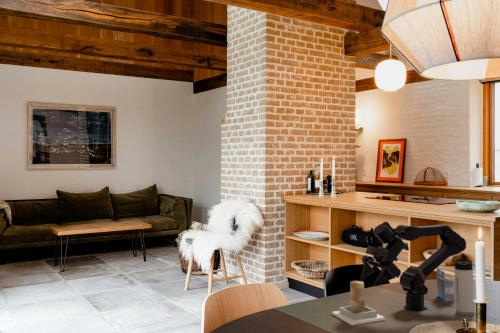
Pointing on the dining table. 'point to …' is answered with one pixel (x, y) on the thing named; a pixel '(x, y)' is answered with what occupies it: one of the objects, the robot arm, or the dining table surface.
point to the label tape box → (444, 287)
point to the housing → (357, 315)
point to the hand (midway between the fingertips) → (367, 283)
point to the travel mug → (464, 287)
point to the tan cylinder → (357, 296)
